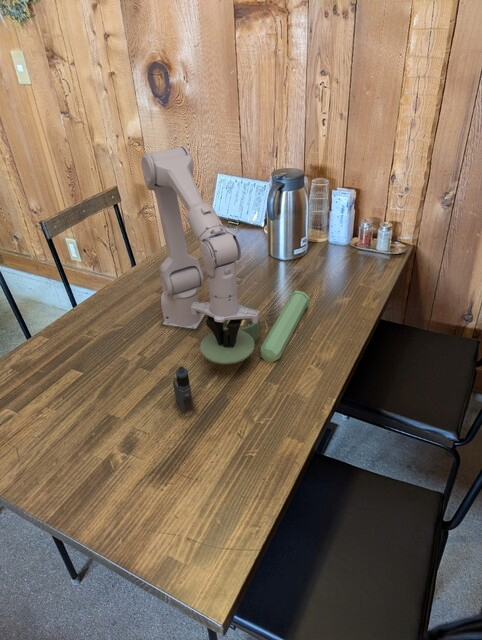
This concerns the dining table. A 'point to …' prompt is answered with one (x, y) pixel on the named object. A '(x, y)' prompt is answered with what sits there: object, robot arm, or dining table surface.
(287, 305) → the green octagonal rod
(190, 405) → the vaping device
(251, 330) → the pan
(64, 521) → the dining table surface
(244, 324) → the block
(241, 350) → the lid
